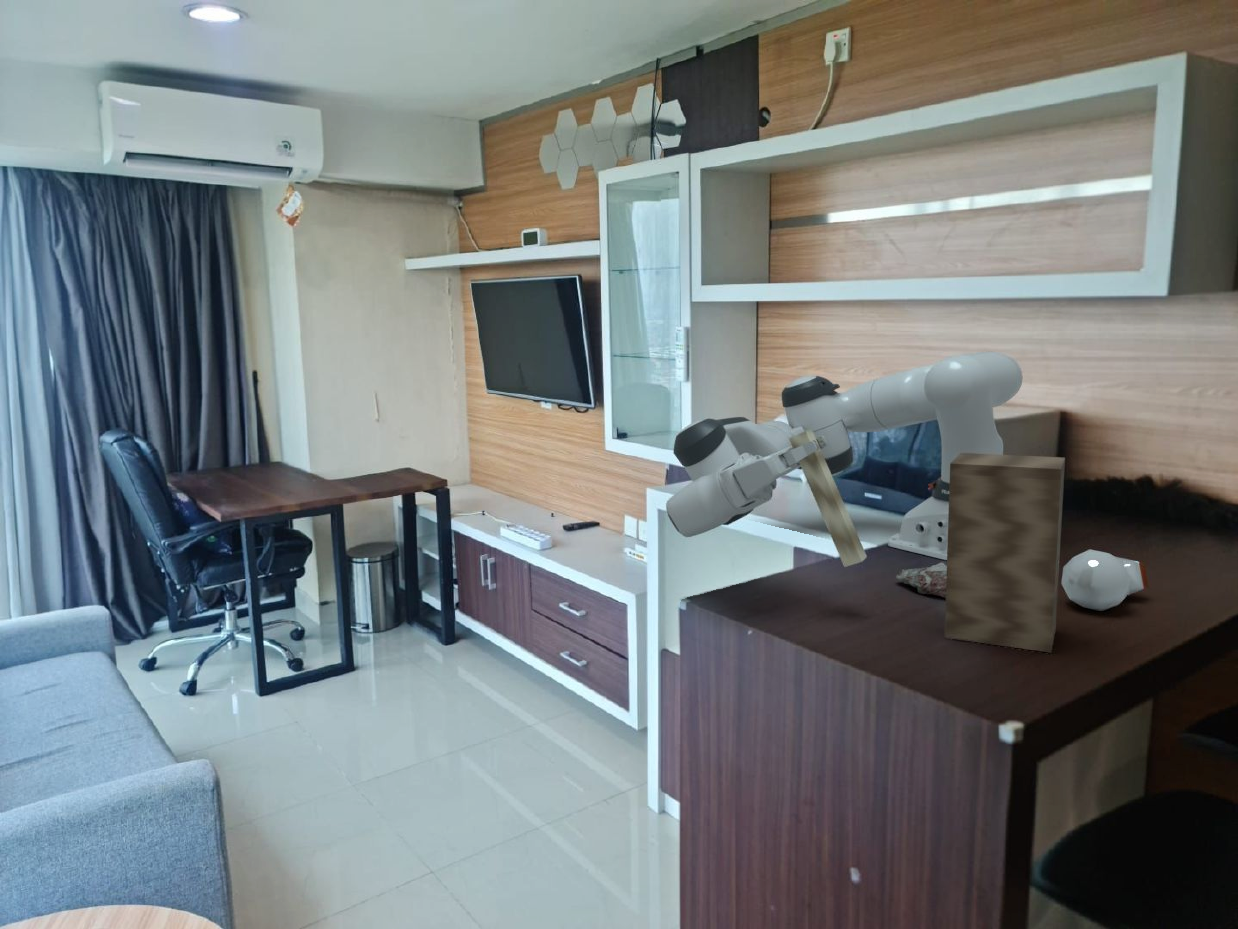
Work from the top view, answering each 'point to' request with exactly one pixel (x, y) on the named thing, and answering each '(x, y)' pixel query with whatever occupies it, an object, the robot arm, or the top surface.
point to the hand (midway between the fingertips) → (820, 442)
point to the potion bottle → (1102, 579)
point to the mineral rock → (926, 579)
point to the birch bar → (830, 502)
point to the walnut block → (1004, 549)
